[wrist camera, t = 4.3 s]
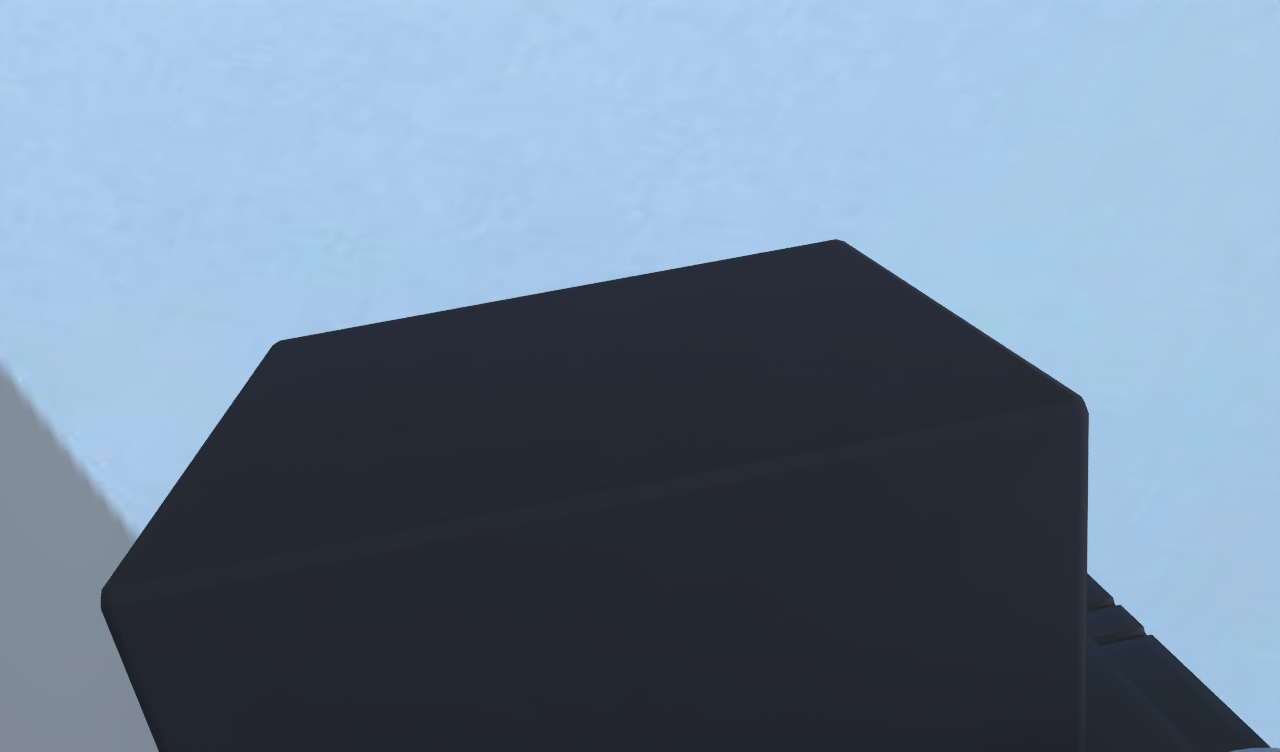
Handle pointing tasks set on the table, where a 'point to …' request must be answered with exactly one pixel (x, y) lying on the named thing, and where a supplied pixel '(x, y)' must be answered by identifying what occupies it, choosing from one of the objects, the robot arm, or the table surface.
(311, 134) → the table surface
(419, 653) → the black box
